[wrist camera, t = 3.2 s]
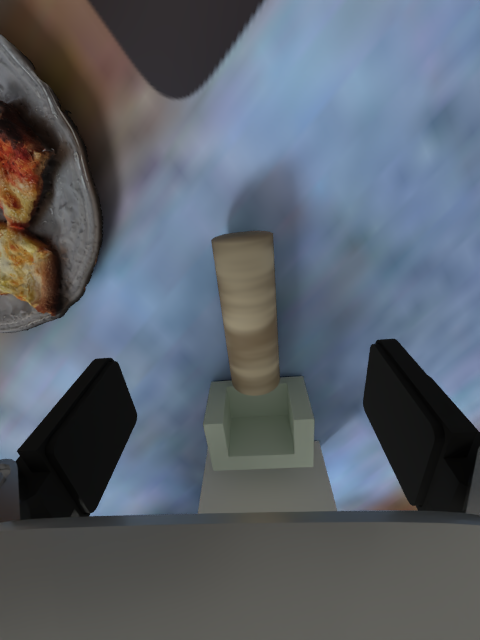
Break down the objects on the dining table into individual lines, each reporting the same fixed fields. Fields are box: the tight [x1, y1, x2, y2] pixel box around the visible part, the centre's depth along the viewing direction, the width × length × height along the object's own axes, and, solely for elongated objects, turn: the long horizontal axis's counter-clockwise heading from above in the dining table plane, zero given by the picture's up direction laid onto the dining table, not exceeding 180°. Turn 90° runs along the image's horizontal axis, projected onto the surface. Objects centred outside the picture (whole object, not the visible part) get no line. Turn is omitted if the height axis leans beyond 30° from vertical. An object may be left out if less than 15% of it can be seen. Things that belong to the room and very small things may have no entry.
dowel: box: [211, 231, 280, 396], centre depth 25 cm, size 14×5×5 cm, turn 6°
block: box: [203, 376, 314, 471], centre depth 29 cm, size 6×10×6 cm, turn 96°
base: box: [198, 441, 337, 514], centre depth 32 cm, size 2×14×9 cm, turn 96°
